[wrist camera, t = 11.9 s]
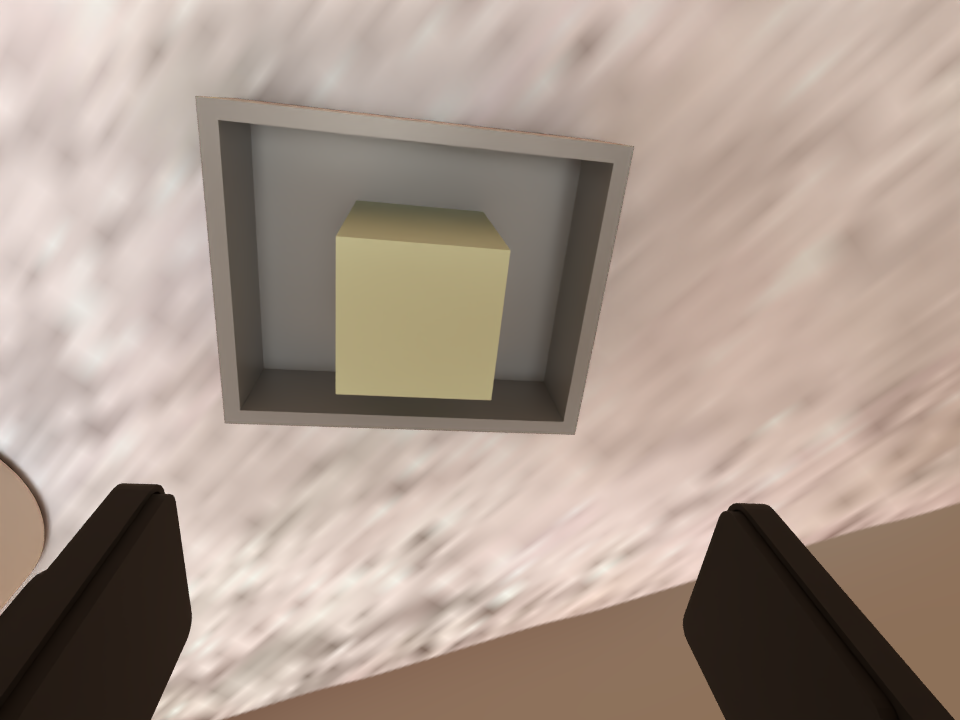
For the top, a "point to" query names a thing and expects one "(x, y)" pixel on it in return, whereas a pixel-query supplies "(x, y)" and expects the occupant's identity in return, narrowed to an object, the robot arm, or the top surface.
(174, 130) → the top surface
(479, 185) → the tub
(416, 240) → the pale yellow block
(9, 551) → the cylinder vase
